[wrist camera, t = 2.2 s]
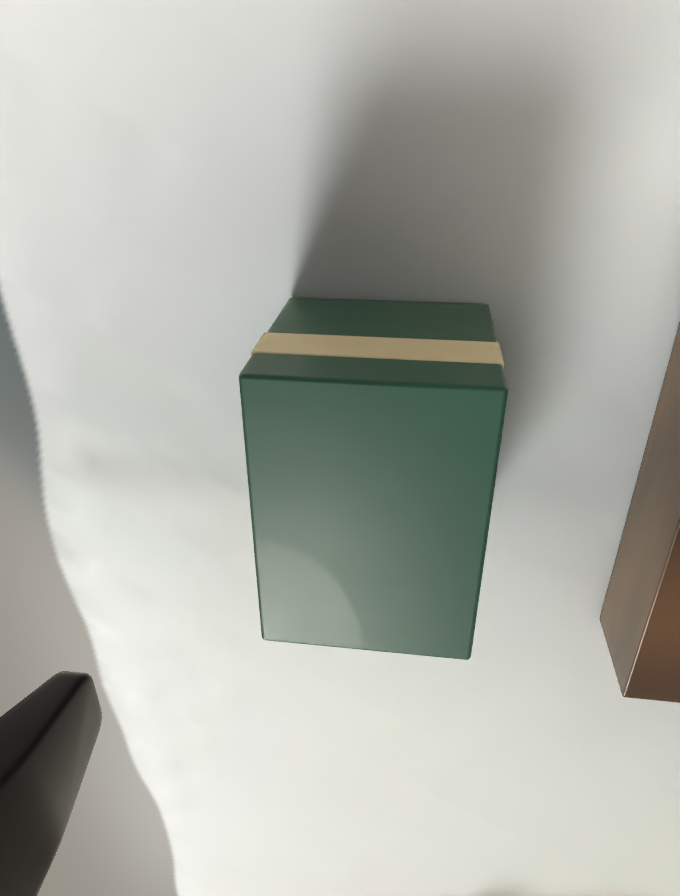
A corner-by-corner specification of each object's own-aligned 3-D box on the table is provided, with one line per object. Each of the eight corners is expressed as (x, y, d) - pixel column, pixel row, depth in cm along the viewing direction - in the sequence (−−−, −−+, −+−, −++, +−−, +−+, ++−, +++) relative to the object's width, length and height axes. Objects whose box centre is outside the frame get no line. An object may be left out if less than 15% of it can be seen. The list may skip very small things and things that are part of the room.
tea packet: (463, 532, 19) (471, 662, 15) (298, 519, 20) (259, 641, 16) (490, 302, 16) (511, 386, 12) (288, 295, 16) (235, 372, 12)
